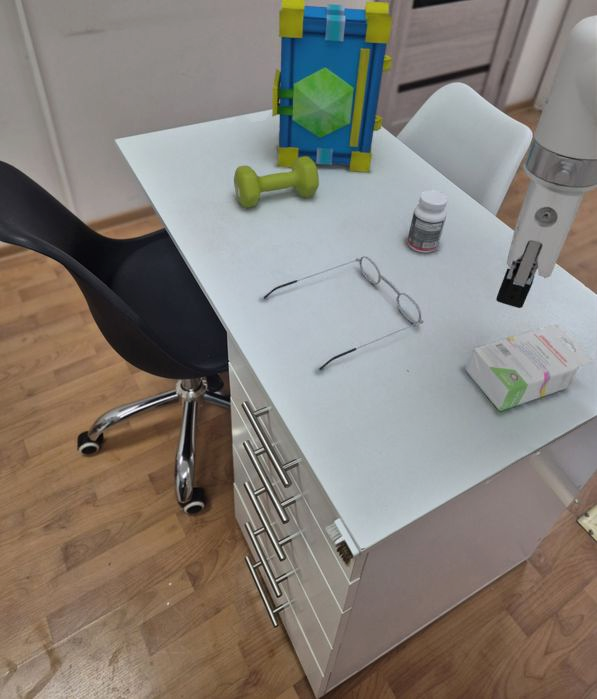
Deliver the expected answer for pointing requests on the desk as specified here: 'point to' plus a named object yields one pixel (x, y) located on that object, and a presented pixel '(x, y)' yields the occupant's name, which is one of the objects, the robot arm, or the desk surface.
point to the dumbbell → (276, 181)
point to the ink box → (526, 366)
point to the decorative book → (330, 82)
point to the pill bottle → (428, 222)
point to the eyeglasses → (373, 283)
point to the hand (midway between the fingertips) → (509, 301)
